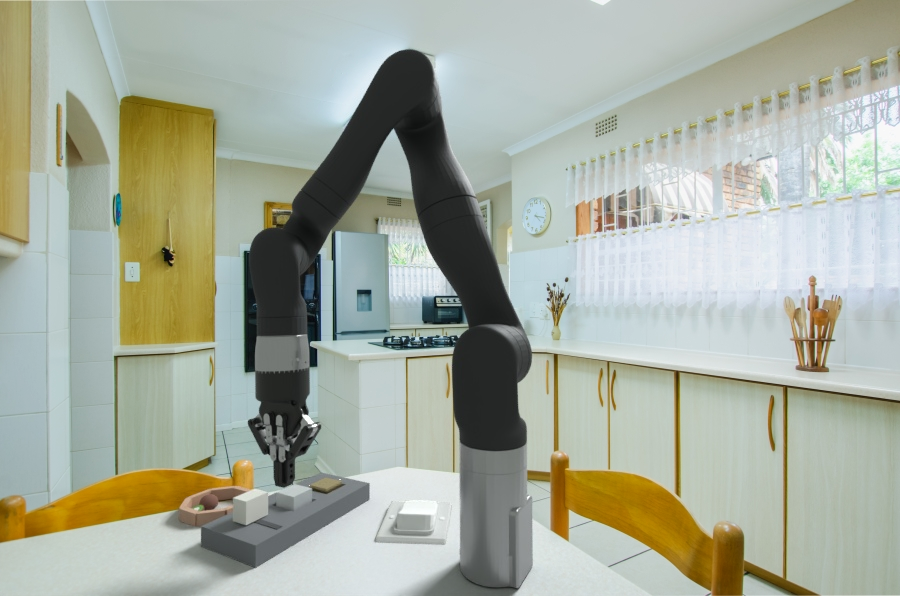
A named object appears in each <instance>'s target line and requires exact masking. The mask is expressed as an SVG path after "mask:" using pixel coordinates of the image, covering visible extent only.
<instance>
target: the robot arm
mask: <svg viewBox="0 0 900 596" xmlns="http://www.w3.org/2000/svg"><path fill="white" fill-rule="evenodd" d="M392 131H394V133H395V135H396V137H397V139H398V141H399V143H400V146H401V149H402V151H403V154H404V155H405V158H406V161H407V164H408V169H409V174H410V181H411V182H410V183H411V192H412V199H413V203H414V207H415V208H414V209H415V212H416V217H417V219H418V223H419V226H420V229H421V232H422V235H423V239H424V241H425V245H426V246H427V250H428V252H429V254H430V255H431V257H432V259H433V261H434V262H435V264H436V266H437V267H438V269H439V270H440V271H441V273H442V275H443V277H444V278H445V279H446V280H447V282H448V283H449V284H450V286H451V288H452V289H453V290H454V292H455V294H456V295H457V297H458V300H459V302H460V304H461V306H462V310H463V312H464V315H465V320H466V322H467V326H468V329H466V330H465V331H463V333H462V334H461V335H460V336H459V337H458V338H457V340H456V341H455V344H454V347H453V351H452V358H451V380H452V381H451V384H452V403H453V404H452V405H453V406H452V407H453V416H454V421H455V423H456V426H457V429H458V432H459V437H458V439H459V445H458V446H459V568H460V571H461V574H462V575H463V576H464V577H465V578H466V579H468V580H469V581H470V582H473V583H474V584H476V585H480V586H483V587H488V588H506V587H511V588H514V589H519V588H520V587H521V586H522V584H523V582H524V580H525V579H526V577H527V575H528V574H529V572H530V570H531V569H532V567H533V565H534V560H533V555H534V554H533V551H534V550H533V547H534V546H533V534H534V533H533V497H532V495H531V494H530V495H529V494H528V429H527V423H526V420H525V419H523V417H521V414H520V411H519V410H520V408H519V389H518V388H519V386H518V384H519V383H520V382H522V381H523V380H524V379H525V378H526V376H527V375H528V373H529V372H530V369H531V367H532V362H533V361H532V360H533V350H532V347H531V343H530V340H529V337H528V335H527V333H526V331H525V329H524V327H523V325H522V323H521V320H520V319H519V317H518V314H517V311H516V309H515V307H514V305H513V303H512V300H511V299H510V296H509V295H508V292H507V289H506V286H505V284H504V280H503V278H502V274H501V270H500V267H499V264H498V259H497V257H496V255H495V251H494V248H493V244H492V242H491V239H490V235H489V233H488V229H487V225H486V222H485V218H484V216H483V212H482V209H481V207H480V205H479V204H480V203H479V202H478V199H477V198H478V197H477V195H476V193H475V191H474V188H473V186H472V184H471V182H470V180H469V178H468V176H467V174H466V173H465V171H464V169H463V167H462V165H461V164H460V162H459V160H458V159H457V157H456V155H455V153H454V152H453V148H452V146H451V142H450V137H449V134H448V131H447V126H446V121H445V117H444V110H443V101H442V95H441V90H440V85H439V80H438V75H437V72H436V69H435V66H434V64H433V62H432V61H431V59H430V58H429V57H428V56H427V55H426V54H425V53H423V52H422V51H419V50H415V49H410V48H409V49H401V50H398V51H396V52H394V53H392V54H391V55H389V56H388V57H387V58H386V59H385V60H384V61H382V63H381V65H380V66H379V68H378V69H377V71H376V73H374V77H373V78H372V80H371V81H370V84H369V85H368V87H367V89H366V91H365V92H364V94H363V96H362V98H361V100H360V101H359V104H358V105H357V107H356V108H355V110H354V112H353V114H352V115H351V117H350V119H349V121H348V122H347V124H346V126H345V127H344V129H343V131H342V133H341V135H339V138H338V139H337V141H336V142H335V144H334V146H332V148H331V150H330V151H329V153H328V154H327V156H325V158H324V160H323V161H322V162H321V164H320V165H318V167H317V169H316V170H315V171H314V172H313V174H312V175H310V177H309V179H308V180H307V181H306V182H305V184H304V185H303V186H302V188H301V189H300V190H299V191H298V192H297V194H296V195H295V197H294V198H293V200H292V203H291V211H292V212H291V213H290V214H291V215H290V216H289V218H288V219H287V221H286V222H285V223H284V225H283V226H282V228H281V227H267V228H264V229H262V230H261V231H259V232H258V233H257V234H256V235H255V237H253V239H252V242H251V244H250V247H249V253H248V266H249V273H250V279H251V284H252V291H253V294H254V298H255V302H256V342H255V350H254V351H255V352H254V372H255V373H254V375H255V376H254V379H255V380H254V381H255V382H254V383H255V386H254V390H255V394H254V395H255V399H256V401H258V402H260V405H259V407H258V414H257V415H256V416H255V417H253V418H250V419H248V420H247V425H248V427H249V430H250V432H251V434H252V435H253V438H254V439H255V442H256V443H257V445H258V447H259V449H260V451H261V453H262V454H263V456H264V455H268V456H269V458H270V459H271V461H272V462H273V463H272V464H273V466H272V467H273V468H272V469H273V481H274V486H275V487H279V488H283V489H285V488H287V487H290V486H292V485H293V484H294V481H295V479H296V474H295V473H296V459H297V458H298V457H301V456H304V455H305V454H307V452H308V450H309V449H310V447H311V445H312V444H313V442H314V440H315V439H316V437H317V436H318V434H319V433H320V431H321V429H322V424H321V422H319V421H316V422H314V421H313V420H312V419H311V417H310V416H309V410H310V409H309V407H308V406H307V399H308V397H309V396H310V393H311V387H310V386H311V381H310V378H311V375H310V345H309V339H308V310H307V303H306V301H305V299H304V297H303V295H302V292H301V291H302V290H301V277H300V276H301V275H303V274H304V273H305V272H306V271H307V270H308V268H310V267H311V265H312V264H313V263H314V262H315V259H316V257H317V256H318V255H319V253H320V251H321V250H322V248H323V246H324V245H325V243H326V242H327V241H326V240H327V239H328V236H329V235H330V233H331V231H332V230H333V229H334V227H335V226H336V225H337V224H338V223H339V222H340V220H341V219H342V218H343V217H344V215H345V214H346V213H347V211H349V209H350V208H351V206H352V205H353V204H354V203H355V201H356V200H357V198H358V197H359V195H360V194H361V192H362V190H363V188H364V186H365V184H366V182H367V179H368V177H369V175H370V172H371V170H372V168H373V165H374V163H375V161H376V158H377V157H378V155H379V152H380V150H381V149H382V147H383V145H384V143H385V141H386V140H387V139H388V136H389V135H390V134H391V132H392Z"/></svg>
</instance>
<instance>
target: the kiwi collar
mask: <svg viewBox="0 0 900 596" xmlns="http://www.w3.org/2000/svg"><path fill="white" fill-rule="evenodd" d="M251 490H252V489H251V488H250V489H249V488H246V487H243V486H238V485H232V486H231V485H230V486H222V487H221V486H220V487H213V488H208V489H205V490H203V491H200V492H197V493H195V494H194V493H193V494H192V495H190V496H187V497H185V498H184V499H183V501H182V503H181V504H180V506H179V507H178V521H179V522H182V523H184V524H188V525H190V526H192V527H201V526H203V525H205V524H207V523H209V522H212V521H214V520H216V519H218V518H220V517H223V516H225V515H227V514H229V513H232V512H233V504H231V505H229V506H227V507H224V508H223V507H222V508H214V509H213V510H206V511H198V510H195V509H192V507H194V506H196V505H199V502H200V500H201V498H202V497H204V496H205V495H208V494H213V495H215V496H216V497H217V498H218V501H224V500H225V501H226V500H233V498H234V497H236V496H239V495H241V494H244V493H246V492H248V491H251Z"/></svg>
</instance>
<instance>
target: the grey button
mask: <svg viewBox="0 0 900 596" xmlns="http://www.w3.org/2000/svg"><path fill="white" fill-rule="evenodd" d="M275 493H276V506H277V507H280V508H284V509H287V510H291V511H295V510H297V509H299V508H301V507H303V506H305V505H307V504H309V503H311V502H312V488H309V487H305V486H301V485H297V484H296V483H295V484H294V483H293V484H291V485H289V486H287V487H285V488H283V489H281V490H279V491H276V492H275Z"/></svg>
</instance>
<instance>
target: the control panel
mask: <svg viewBox="0 0 900 596" xmlns="http://www.w3.org/2000/svg"><path fill="white" fill-rule="evenodd" d="M324 478H330V479H334V480H339V479H341V480H339V481H342V487H340V488H338V489H336V490H334V491H332V492H330V493H328V494H323V493H319V492H315V491H312V502H311V503H309V504H307V505H305V506H303V507H301V508H299V509H297V510H295V511H291V510H287V509H284V508H280V507H277V506H276V492H274V493H272V494H270V495H268V515H266V516H264V517H262V518H260V519H258V520H256V521H254V522H252V523H250V524H248V525H243V524H240V523H237V522H234V521H233V512H232V513H229V514H227V515H225V516H223V517H220V518H218V519H216V520H214V521H212V522H209V523H207V524H205V525H203V526H200V547H202V548H205V549H206V550H209V551H212V552H214V553H217V554H219V555H221V556H225V557H227V558H230V559H232V560H235V561H237V562H239V563H242V564H246V565H248V566H250V567H252V568H257V567H259V566H261V565H263V564H264V563H266V562H268V561H269V560H271V559H273V558H274V557H276V556H278V555H280V554H282V552H284V551H286V550H287V549H289V548H291V547H293V546H295V545H297V543H299V542H301V541H302V540H304V539H306V538H308V537H310V536H311V535H313V534H315V533H316V532H318V531H319V530H321V529H323V528H324V527H326V526H329V524H331V523H333V522H334V521H336V520H338V519H339V518H341V517H343V516H344V515H346V514H348V513H349V512H351V511H353V510H354V509H356V508H358V507H360V506H361V505H363V504H364V503H366V502H369V500H370V499H371V498H370V494H371V493H370V489H371V488H370V487H371V486H370V482H365V481H361V480H357V479H354V478H353V479H352V478H348V477H345V476H344V477H343V476H338V475H335V474H331V473H325V472H319V473H317V474H315V475H312V476H310V477H308V478H306V479H303V480H301V481H299V482H296V483H295V484H297V485H301V486H305V487H309V488H310V486H309V485H311V484H313V483H315V482H317V481H319V480H321V479H324Z"/></svg>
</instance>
